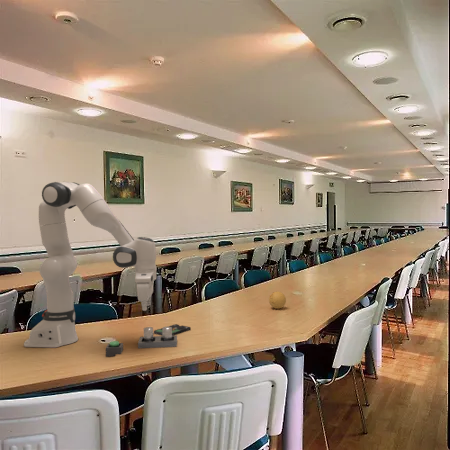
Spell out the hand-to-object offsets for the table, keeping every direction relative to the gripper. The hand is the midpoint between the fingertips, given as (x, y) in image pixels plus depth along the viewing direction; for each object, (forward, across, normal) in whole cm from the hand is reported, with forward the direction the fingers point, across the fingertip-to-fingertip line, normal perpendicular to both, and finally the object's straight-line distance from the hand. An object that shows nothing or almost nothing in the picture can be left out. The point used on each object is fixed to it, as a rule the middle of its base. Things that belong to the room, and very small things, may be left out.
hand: (146, 307), depth 185 cm
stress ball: (+16, -66, +66) cm, 95 cm away
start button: (+13, +8, -12) cm, 20 cm away
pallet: (+17, 0, +5) cm, 17 cm away
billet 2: (+16, -1, +9) cm, 18 cm away
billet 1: (+16, 0, +1) cm, 16 cm away
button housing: (+17, +8, -12) cm, 22 cm away
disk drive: (+17, -20, +9) cm, 28 cm away
